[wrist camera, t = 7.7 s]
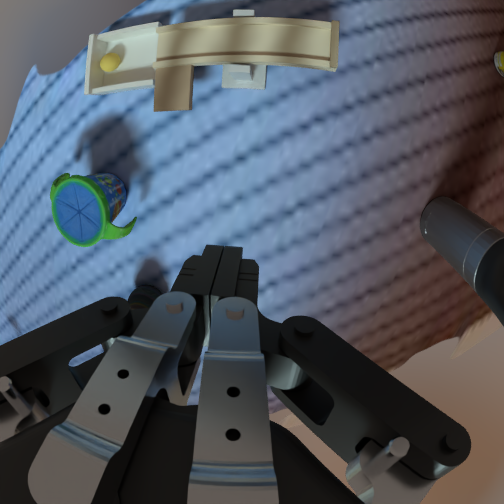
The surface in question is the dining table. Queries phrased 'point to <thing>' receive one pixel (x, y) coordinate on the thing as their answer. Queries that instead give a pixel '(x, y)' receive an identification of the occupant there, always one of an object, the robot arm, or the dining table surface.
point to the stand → (244, 68)
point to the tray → (122, 60)
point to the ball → (110, 62)
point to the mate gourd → (143, 297)
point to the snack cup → (88, 207)
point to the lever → (237, 50)
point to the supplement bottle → (499, 62)
